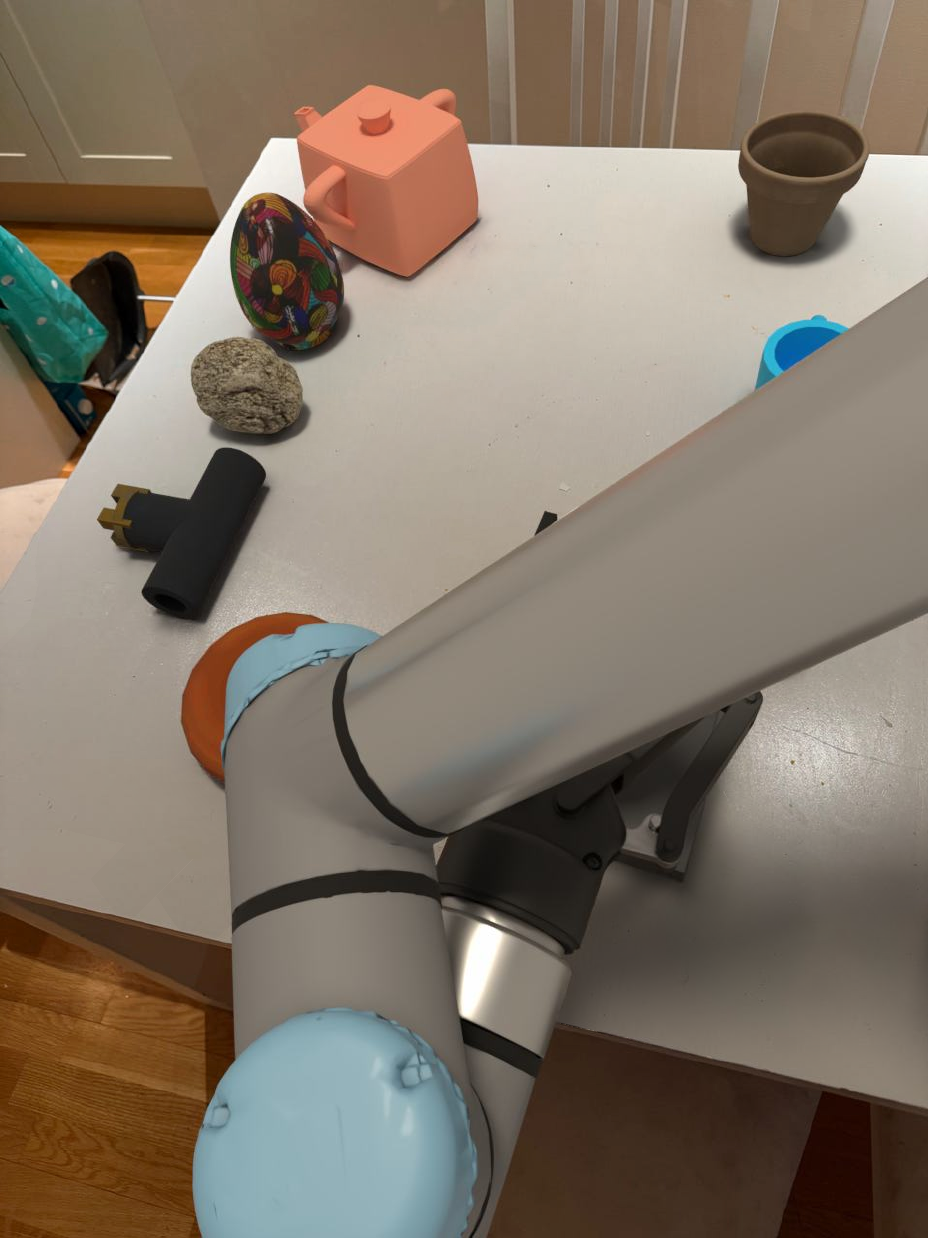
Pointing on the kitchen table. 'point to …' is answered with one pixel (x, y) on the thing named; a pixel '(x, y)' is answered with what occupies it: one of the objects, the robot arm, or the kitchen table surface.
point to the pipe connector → (187, 529)
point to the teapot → (388, 176)
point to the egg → (285, 272)
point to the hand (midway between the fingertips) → (638, 548)
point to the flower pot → (798, 176)
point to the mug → (795, 345)
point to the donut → (224, 684)
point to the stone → (246, 386)
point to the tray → (665, 791)
